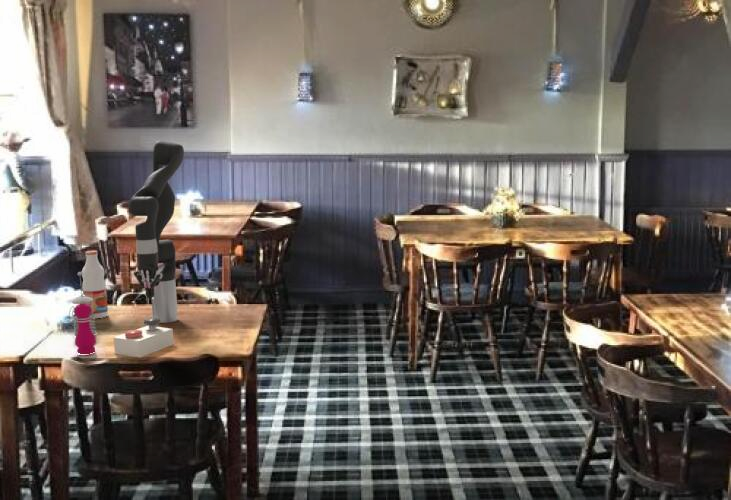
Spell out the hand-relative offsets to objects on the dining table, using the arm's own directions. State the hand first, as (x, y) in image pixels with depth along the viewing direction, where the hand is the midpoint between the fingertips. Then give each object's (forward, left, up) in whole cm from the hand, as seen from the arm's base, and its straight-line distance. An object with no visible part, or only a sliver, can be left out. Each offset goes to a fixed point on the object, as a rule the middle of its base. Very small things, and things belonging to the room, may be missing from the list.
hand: (150, 297), depth 346 cm
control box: (0, -5, -18) cm, 19 cm away
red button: (0, -10, -16) cm, 19 cm away
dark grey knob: (0, 0, -14) cm, 14 cm away
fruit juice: (-53, +24, -18) cm, 61 cm away
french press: (-36, 0, -18) cm, 40 cm away
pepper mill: (-16, -18, -18) cm, 30 cm away
